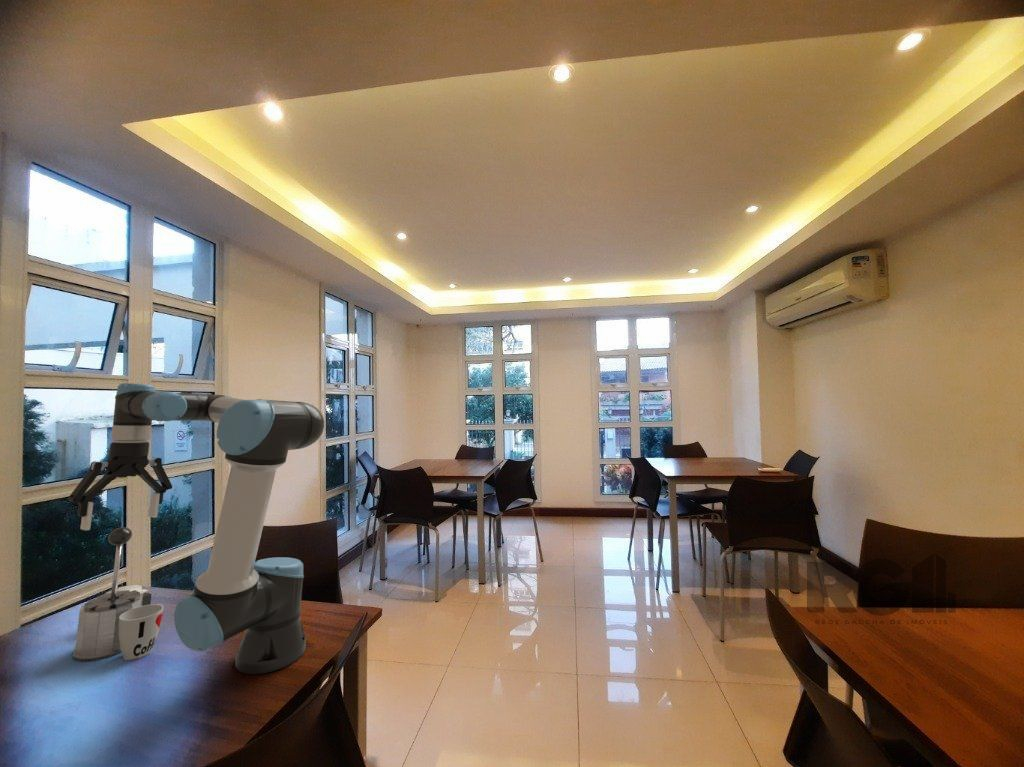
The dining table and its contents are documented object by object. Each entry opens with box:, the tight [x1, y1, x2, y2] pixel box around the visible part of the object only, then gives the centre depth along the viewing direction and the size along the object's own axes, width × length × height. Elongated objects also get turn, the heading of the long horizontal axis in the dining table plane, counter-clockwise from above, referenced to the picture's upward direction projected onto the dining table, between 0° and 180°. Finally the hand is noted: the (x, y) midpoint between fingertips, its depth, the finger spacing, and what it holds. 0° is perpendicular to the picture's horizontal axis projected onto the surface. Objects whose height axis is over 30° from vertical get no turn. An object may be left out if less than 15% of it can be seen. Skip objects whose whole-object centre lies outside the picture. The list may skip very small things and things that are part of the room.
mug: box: [104, 584, 149, 594], centre depth 111 cm, size 8×9×9 cm
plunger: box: [93, 526, 133, 611], centre depth 101 cm, size 9×9×20 cm
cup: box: [119, 603, 165, 661], centre depth 98 cm, size 8×8×10 cm
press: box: [72, 590, 152, 662], centre depth 101 cm, size 12×14×12 cm
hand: (121, 522), depth 102 cm, fingers open, 13 cm apart
